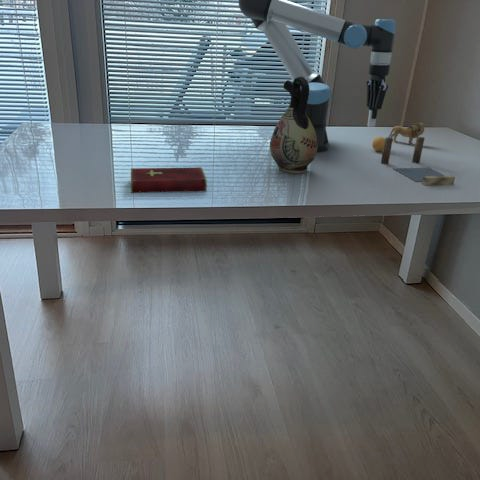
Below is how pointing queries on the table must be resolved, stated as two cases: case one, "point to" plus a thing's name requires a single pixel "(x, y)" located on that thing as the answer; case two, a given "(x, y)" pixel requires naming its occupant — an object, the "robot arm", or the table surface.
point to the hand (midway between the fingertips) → (371, 126)
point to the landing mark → (418, 173)
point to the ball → (378, 143)
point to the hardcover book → (167, 180)
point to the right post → (418, 149)
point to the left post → (386, 150)
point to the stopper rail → (438, 180)
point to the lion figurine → (408, 132)
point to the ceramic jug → (294, 132)
